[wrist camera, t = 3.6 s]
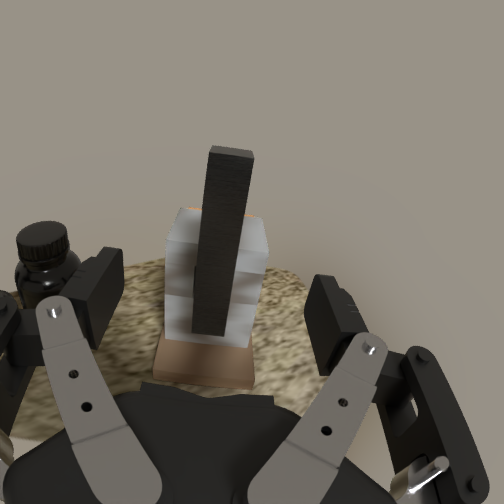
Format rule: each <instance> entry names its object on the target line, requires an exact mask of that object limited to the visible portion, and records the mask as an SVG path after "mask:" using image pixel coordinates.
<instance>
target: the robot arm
mask: <svg viewBox="0 0 504 504" xmlns="http://www.w3.org/2000/svg"><path fill="white" fill-rule="evenodd" d="M123 290H124V268H123V252H122V249H119V248H111V247H103V249H102V250H101V251H100V252H99V254H98V255H97V257H90V258H88V259H87V260H85V261H84V262H82V263H81V265H80V266H79V267H78V269H77V271H75V273H74V274H73V275H72V277H71V278H70V279H69V281H68V282H67V283H66V285H65V286H64V288H63V289H62V290H61V292H60V293H59V295H58V296H51V297H48V298H45V299H44V300H42V301H41V302H40V303H39V304H38V305H37V307H36V309H19V308H18V305H17V303H16V301H15V300H14V299H13V298H10V297H1V298H0V356H1V354H2V353H4V355H3V357H2V359H1V361H0V500H1V501H3V502H5V504H481V503H482V502H484V500H485V499H486V498H487V496H488V493H489V480H488V477H487V474H486V471H485V469H484V466H483V463H482V460H481V458H480V455H479V452H478V450H477V447H476V444H475V442H474V439H473V437H472V435H471V432H470V430H469V427H468V425H467V423H466V420H465V418H464V416H463V413H462V411H461V409H460V407H459V405H458V402H457V400H456V398H455V396H454V394H453V392H452V390H451V388H450V385H449V383H448V381H447V379H446V377H445V375H444V373H443V372H442V369H441V367H440V366H439V364H438V362H437V360H436V358H435V356H434V355H433V354H432V353H431V352H430V351H429V350H427V349H425V348H423V347H420V346H412V347H410V348H409V349H408V351H407V352H406V354H405V355H404V354H400V353H396V352H392V351H389V350H388V347H387V345H386V343H385V342H384V341H383V340H382V339H381V338H379V337H378V336H376V335H374V334H371V333H369V331H368V329H367V327H366V325H365V323H364V321H363V319H362V317H361V315H360V313H359V310H358V308H357V307H356V306H355V302H354V300H353V298H352V296H351V295H349V294H348V293H347V292H346V291H345V290H344V289H342V288H339V286H338V284H337V282H336V279H335V278H334V276H328V275H320V274H317V275H315V276H314V279H313V282H312V285H311V288H310V291H309V294H308V297H307V300H306V303H305V307H304V318H305V322H306V326H307V329H308V333H309V337H310V340H311V344H312V348H313V352H314V355H315V359H316V363H317V367H318V371H319V375H320V376H329V378H328V379H327V381H326V382H325V384H324V386H323V387H322V389H321V390H320V392H319V393H318V395H317V396H316V398H315V399H314V401H313V402H312V403H311V405H310V406H309V408H308V409H307V411H306V412H305V414H304V415H303V416H302V417H300V416H299V415H297V414H295V413H294V412H292V411H290V410H288V409H286V408H283V407H280V406H276V405H274V397H273V396H268V395H248V394H239V395H231V396H223V397H215V398H205V397H202V396H199V395H196V394H193V393H190V392H187V391H184V390H181V389H178V388H175V387H171V386H164V385H158V384H152V383H146V382H142V385H141V389H140V391H132V392H126V393H122V394H119V395H116V396H114V397H112V395H111V393H110V391H109V389H108V387H107V385H106V383H105V381H104V378H103V376H102V374H101V372H100V370H99V368H98V365H97V363H96V361H95V359H94V356H93V354H92V352H91V349H94V350H97V349H98V347H99V345H100V342H101V340H102V338H103V335H104V333H105V331H106V329H107V326H108V324H109V322H110V320H111V318H112V315H113V313H114V311H115V309H116V307H117V305H118V303H119V300H120V298H121V296H122V294H123ZM36 366H46V370H47V374H48V377H49V381H50V384H51V388H52V391H53V394H54V397H55V400H56V403H57V406H58V409H59V412H60V415H61V418H62V420H63V423H64V426H65V428H64V429H63V430H61V431H60V432H58V433H57V434H55V435H54V436H52V437H51V438H49V439H47V440H46V441H44V442H43V443H41V444H40V445H38V446H37V447H35V448H34V449H32V450H30V451H29V452H27V453H25V454H24V455H22V456H21V457H19V458H18V459H16V460H15V461H14V457H13V453H14V452H13V451H14V449H13V445H12V442H11V440H10V438H9V435H10V432H11V429H12V426H13V423H14V421H15V418H16V415H17V412H18V409H19V407H20V404H21V402H22V399H23V396H24V394H25V391H26V389H27V387H28V384H29V382H30V379H31V377H32V375H33V372H34V370H35V368H36ZM413 398H414V400H415V402H416V405H417V408H418V416H416V414H415V411H414V408H413V406H412V403H411V400H412V399H413ZM371 402H372V403H376V405H377V408H378V412H379V415H380V419H381V422H382V426H383V429H384V433H385V437H386V440H387V444H388V448H389V452H390V456H391V460H392V464H393V468H394V472H395V476H394V478H393V479H392V481H391V484H390V491H389V493H388V492H387V491H386V490H385V489H384V488H382V487H381V486H380V485H379V484H377V483H376V482H375V481H374V480H372V479H371V478H370V477H369V476H368V475H366V474H365V473H364V472H363V471H362V470H360V469H359V468H358V467H357V466H356V465H355V464H353V463H352V462H351V461H350V460H349V459H347V458H346V457H345V455H346V453H347V451H348V449H349V447H350V445H351V443H352V441H353V439H354V437H355V435H356V433H357V431H358V429H359V427H360V425H361V423H362V421H363V419H364V417H365V414H366V412H367V410H368V408H369V406H370V403H371Z"/></svg>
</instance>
